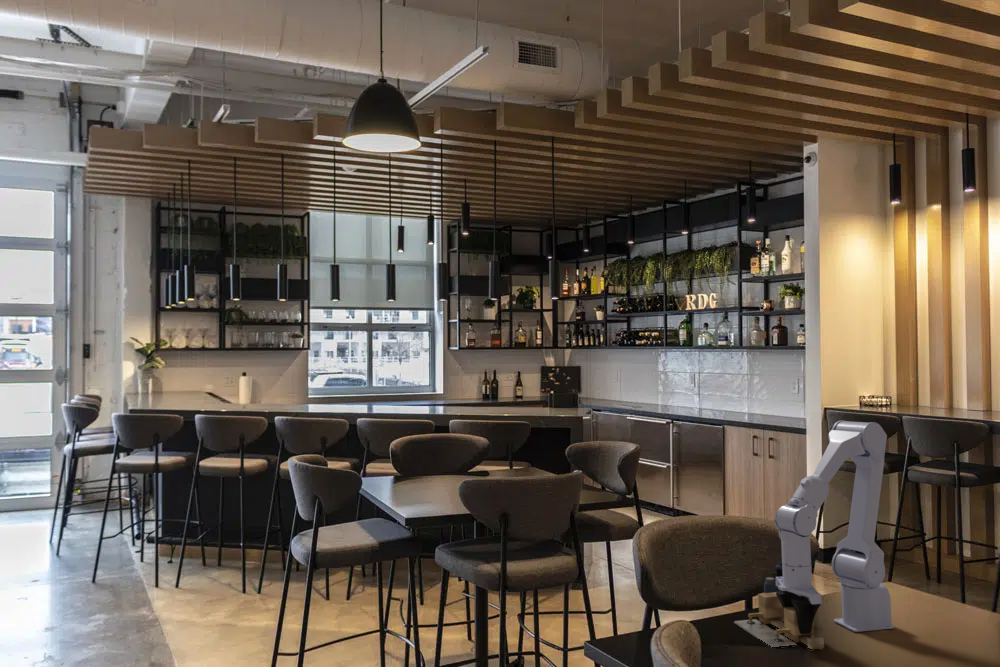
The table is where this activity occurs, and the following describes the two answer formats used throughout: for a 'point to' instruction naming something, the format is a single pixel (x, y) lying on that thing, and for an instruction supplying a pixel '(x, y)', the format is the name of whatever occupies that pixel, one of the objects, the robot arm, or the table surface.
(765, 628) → the bolt plate
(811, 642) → the rail
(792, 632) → the brown block with peg
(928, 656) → the table surface
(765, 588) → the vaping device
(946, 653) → the table surface
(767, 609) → the fixed leg
